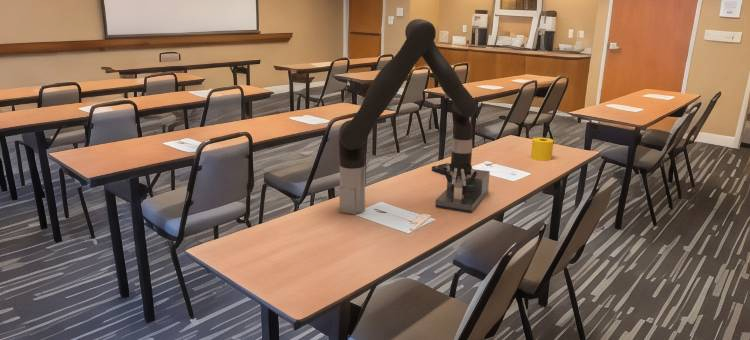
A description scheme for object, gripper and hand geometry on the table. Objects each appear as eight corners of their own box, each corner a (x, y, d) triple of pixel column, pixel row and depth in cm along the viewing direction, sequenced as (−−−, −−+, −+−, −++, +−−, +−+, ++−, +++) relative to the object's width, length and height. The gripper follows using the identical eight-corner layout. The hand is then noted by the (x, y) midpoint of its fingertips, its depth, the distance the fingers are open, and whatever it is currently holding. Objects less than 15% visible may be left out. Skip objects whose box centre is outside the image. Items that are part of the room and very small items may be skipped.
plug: (460, 203, 207) (462, 183, 205) (453, 202, 208) (454, 182, 206) (463, 200, 210) (465, 180, 208) (456, 198, 212) (457, 179, 209)
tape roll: (554, 161, 270) (556, 142, 267) (533, 160, 270) (535, 142, 267) (548, 155, 279) (550, 137, 277) (528, 155, 280) (530, 137, 277)
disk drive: (431, 172, 252) (454, 180, 240) (431, 166, 251) (454, 173, 240) (447, 168, 258) (470, 175, 246) (447, 162, 257) (470, 169, 246)
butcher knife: (400, 229, 187) (400, 226, 187) (418, 215, 200) (418, 212, 199) (414, 231, 185) (414, 228, 184) (431, 217, 197) (431, 214, 197)
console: (471, 213, 201) (473, 190, 198) (435, 207, 206) (436, 184, 204) (488, 192, 224) (489, 171, 221) (454, 187, 229) (456, 166, 226)
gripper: (440, 150, 203) (438, 193, 208) (477, 154, 197) (474, 199, 202) (446, 145, 209) (444, 188, 214) (482, 149, 204) (479, 193, 209)
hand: (459, 193), depth 208 cm, fingers closed on plug, 3 cm apart
